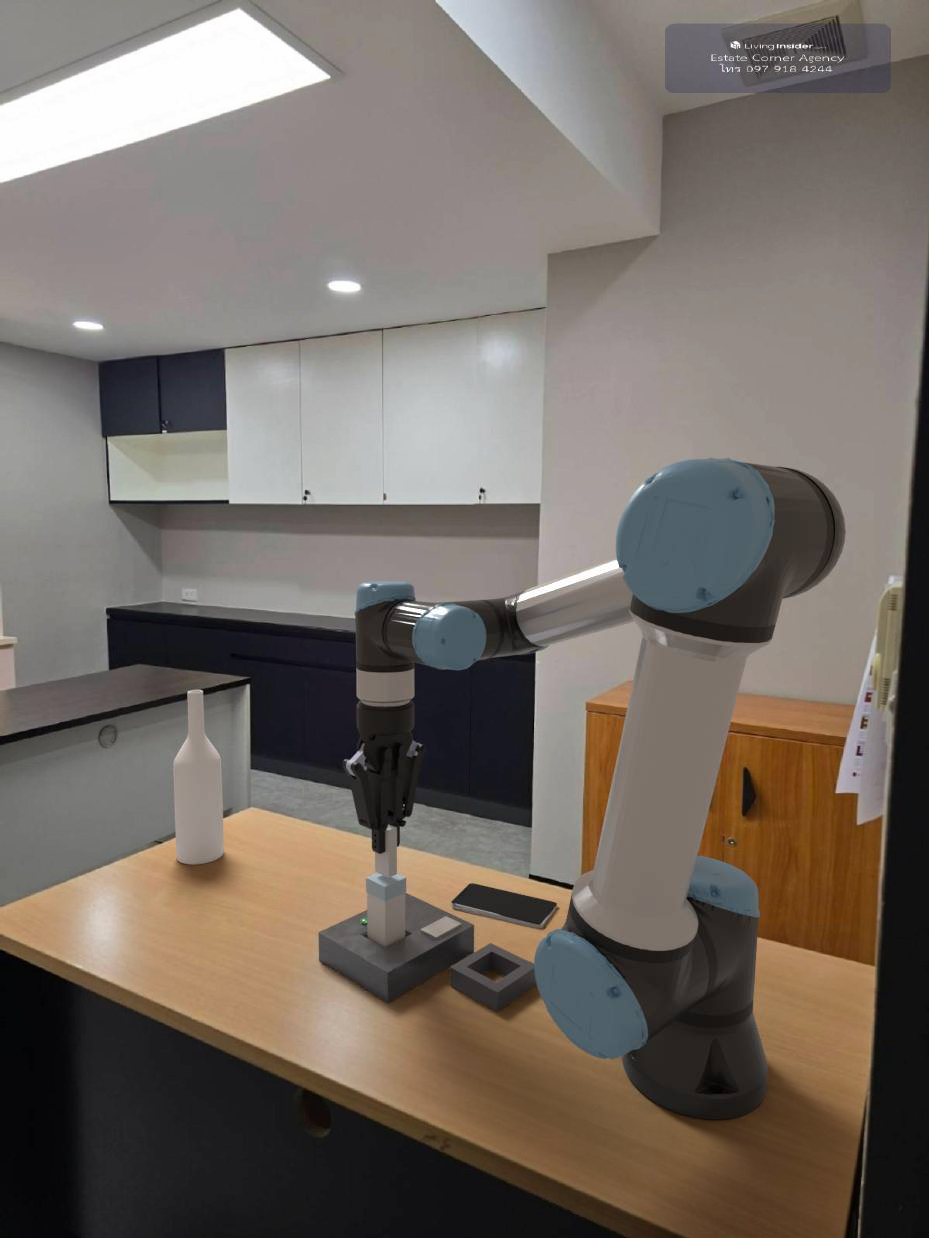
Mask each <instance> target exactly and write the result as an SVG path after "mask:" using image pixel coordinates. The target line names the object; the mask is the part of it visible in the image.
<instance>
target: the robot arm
mask: <svg viewBox="0 0 929 1238" xmlns="http://www.w3.org/2000/svg"><path fill="white" fill-rule="evenodd" d="M616 529H617V530H616V537H615V557H612V558H610V559H606V560H604V561H603V560H602V561H601V562H597V563H595V564H591V566H588V567H585V568H582V569H579V570H577V571H573V572H571V573H568V574H565V575H562V576H560V577H557V578H555V579H552V580H549V581H546V582H543V583H541V584H539V585H535V586H532V587H530V588H527V589H526V590H523V591H520V592H517V593H514V594H512V595H509V596H504V597H500V598H491V599H474V600H458V601H455V600H454V601H444V602H431V601H430V602H429V601H421V600H420V601H419V600H416V599H417V598H416V593H415V587H414V585H413V584H412V583H410V582H408V581H396V580H395V581H394V580H393V581H391V580H390V581H389V580H381V581H379V580H378V581H366V582H365V581H364V582H362V583H360V585H358V587H357V590H356V604H355V605H356V606H355V611H354V616H355V621H354V622H355V655H356V657H355V661H356V668H355V669H356V697H357V698H358V699H359V701H358V703H356V728H357V730H358V733H359V740H358V742H357V746H356V749H357V750H356V753H355V754H354V755H353V756H352V757H351V758H350V759H348V758H345V759H343V760H342V762H341V767H342V768H343V770H344V771H345V773H346V775H347V776H348V781H349V785H350V790H351V794H352V798H353V804H354V808H355V811H356V812H355V813H356V816H357V820H358V821H357V822H358V825H360V826H361V827H365V828H367V829H369V830H371V849H372V850H371V851H372V852H374V862H375V864H374V872H375V873H379V874H381V875H384V876H386V877H388V878H390V877H392V876H394V875H396V874H397V873H398V848H399V847H400V844H401V828H404V827H405V826H406V825H407V821H406V820H404V819H406V818H410V817H411V816H412V814H413V811H414V804H415V798H416V793H417V787H418V781H419V775H420V768H421V763H422V760H423V758H424V755H425V754H426V750H427V746H426V745H425V744H422V743H419V742H416V741H415V740H414V737H413V734H412V732H411V731H412V730H413V729H414V727H415V703H414V702H413V701H414V700H412V699H413V698H414V697H415V663H417V664H420V665H424V666H428V667H429V666H430V667H431V668H435V669H437V670H441V671H443V670H444V671H445V670H452V671H462V670H467V669H468V668H470V667H471V666H472V665H474V664H475V663H476V662H477V661H481V660H487V659H493V658H500V657H509V656H516V655H517V656H518V655H519V656H524V655H525V656H526V655H530V654H534V653H537V652H541V651H544V650H545V649H547V648H548V647H550V646H551V645H554V644H557V643H559V644H560V643H562V642H566V641H569V640H570V641H571V640H573V639H578V638H579V637H584V636H587V635H590V634H594V633H598V632H601V631H605V630H609V629H613V628H616V627H619V626H623V625H627V624H630V623H634V622H635V624H636V625H637V627H638V628H639V629H640V632H641V634H642V636H641V642H640V646H639V652H638V655H637V661H636V665H635V669H634V670H635V671H634V676H633V680H632V684H631V689H630V696H629V699H628V702H627V704H628V705H627V709H626V713H625V718H624V722H623V727H622V731H621V732H622V733H621V738H620V742H619V746H618V752H617V756H616V761H615V767H614V771H613V775H612V781H611V785H610V790H609V795H608V799H607V800H608V801H607V803H606V809H605V813H604V814H605V815H604V819H603V824H602V828H601V832H600V837H599V843H598V847H597V853H596V857H595V862H594V867H593V869H592V870H590V871H587V872H584V873H583V874H582V875H580V876H579V877H578V878H577V879H576V881H575V882H574V885H573V887H572V891H571V896H570V900H569V905H568V910H567V915H566V918H565V922H564V924H563V925H562V927H561V928H555V929H554V930H551V931H549V932H548V933H547V935H546V936H545V937H544V938H542V939H541V940H540V942H539V943H538V945H537V947H536V950H535V952H534V953H535V954H534V959H533V964H534V972H535V978H536V983H537V984H536V987H537V989H538V993H539V995H540V997H541V998H540V999H541V1000H542V1001H543V1003H544V1005H545V1008H546V1010H547V1012H548V1014H549V1016H550V1017H551V1019H552V1021H553V1022H554V1024H556V1026H557V1027H558V1029H559V1030H560V1031H561V1033H562V1034H563V1035H564V1036H565V1037H566V1038H567V1039H568V1040H569V1041H570V1042H571V1043H572V1044H573V1045H575V1046H576V1047H577V1048H579V1049H580V1050H581V1051H583V1052H585V1053H587V1054H588V1055H590V1056H592V1057H594V1058H595V1057H596V1058H599V1059H603V1060H607V1059H610V1060H612V1059H613V1060H614V1059H619V1058H621V1060H622V1065H623V1069H624V1071H625V1073H626V1075H627V1077H628V1079H629V1080H630V1081H631V1083H632V1084H633V1085H634V1086H635V1087H636V1088H637V1089H638V1091H640V1092H641V1093H642V1094H643V1095H644V1096H646V1098H648V1099H650V1100H651V1101H653V1102H654V1103H656V1104H658V1105H659V1106H662V1107H663V1108H666V1109H668V1110H670V1111H672V1112H675V1113H678V1114H681V1115H684V1116H688V1117H693V1118H697V1119H703V1120H727V1119H734V1118H738V1117H741V1116H744V1115H747V1114H748V1113H750V1112H752V1111H753V1110H755V1109H756V1108H757V1107H758V1106H759V1105H760V1104H761V1103H762V1102H763V1100H764V1098H765V1097H766V1095H767V1090H768V1089H767V1088H768V1073H769V1072H768V1068H769V1067H768V1061H767V1057H766V1053H765V1050H764V1045H763V1043H762V1039H761V1035H760V1033H759V1029H758V1028H759V1027H758V1026H757V1022H756V1019H755V1015H754V995H755V980H756V965H757V948H758V932H759V931H758V930H759V919H760V917H761V911H760V910H759V889H758V885H757V884H756V882H755V881H754V879H752V878H751V876H749V875H748V874H747V873H746V872H744V871H743V870H741V869H740V868H738V867H736V866H734V865H732V864H729V863H726V862H724V861H722V860H718V859H715V858H711V857H707V856H704V855H703V856H702V855H698V854H699V850H700V847H701V843H702V838H703V834H704V831H705V826H706V823H707V818H708V814H709V811H710V807H711V802H712V798H713V795H714V790H715V786H716V783H717V778H718V774H719V771H720V766H721V762H722V759H723V755H724V750H725V746H726V743H727V742H726V741H727V738H728V736H729V730H730V726H731V722H732V719H733V716H734V715H733V714H734V710H735V707H736V702H737V699H738V694H739V691H740V686H741V683H742V679H743V674H744V671H745V667H746V664H747V658H749V657H750V655H752V654H753V653H756V651H759V650H760V649H762V648H764V647H767V646H768V645H770V643H771V642H772V640H773V637H774V632H775V628H776V624H777V623H778V622H777V621H778V618H779V613H780V609H781V606H782V602H783V599H788V598H794V597H796V596H800V595H801V594H804V593H807V592H808V591H810V590H812V589H813V588H814V587H816V586H818V585H820V583H821V582H823V581H824V580H825V579H826V578H827V577H828V576H829V575H830V574H831V572H832V571H833V570H834V569H835V567H836V566H837V563H838V561H839V559H840V557H841V555H842V553H843V550H844V545H845V542H846V521H845V517H844V513H843V510H842V507H841V504H840V503H839V501H838V499H837V498H836V496H835V494H834V493H833V492H832V491H831V490H830V488H829V487H828V486H826V484H825V483H823V482H822V481H821V480H820V479H818V478H817V477H815V476H814V475H811V474H809V473H807V472H805V471H802V470H799V469H797V468H796V469H795V468H791V467H784V466H771V465H766V464H765V465H764V464H758V463H751V462H745V461H744V462H743V461H738V460H735V459H731V458H729V457H727V458H715V457H708V458H694V459H692V458H691V459H685V460H681V461H677V462H674V463H671V464H669V465H667V466H664V467H663V468H661V469H659V470H658V471H657V472H655V473H654V474H653V475H651V476H650V477H648V478H647V479H645V480H644V482H642V483H641V484H640V485H639V486H638V488H636V490H635V491H634V493H633V494H632V495H631V496H630V498H629V500H628V501H627V503H626V505H625V506H624V509H623V511H622V514H621V517H620V520H619V523H618V526H617V528H616Z"/></svg>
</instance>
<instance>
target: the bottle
mask: <svg viewBox="0 0 929 1238" xmlns="http://www.w3.org/2000/svg"><path fill="white" fill-rule="evenodd" d="M186 693H187V696H186V697H187V723H188V724H187V726H188V727H187V730H188V731H187V732H188V733H187V736H186V737H187V738H186V739H185V740H184V742H183V744H182V746H181V747H180V749H179V751H178V752H177V754H176V756H175V757H174V760H173V764H172V765H173V766H172V768H173V771H172V772H173V791H174V792H173V803H174V825H175V853H176V860H177V861H178V862H179V863H181V864H185V865H191V866H192V865H194V866H195V865H196V866H197V865H202V864H209V863H212V862H215V861H217V860H219V859H220V858H221V857H222V856H223V855H224V853H225V849H224V848H225V846H224V845H225V843H224V842H225V839H224V835H225V834H224V808H223V805H224V804H223V802H224V801H223V800H224V798H223V772H222V771H223V769H222V765H223V764H222V758H221V755H220V754H219V752H218V750H217V749H216V748H215V746H214V745H213V744H212V742H211V741H210V740H209V738H208V736H207V735H206V732H205V731H206V729H205V711H204V710H205V708H204V706H205V705H204V691H203V690H201V689H192V690H188V691H187V692H186Z"/></svg>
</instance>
